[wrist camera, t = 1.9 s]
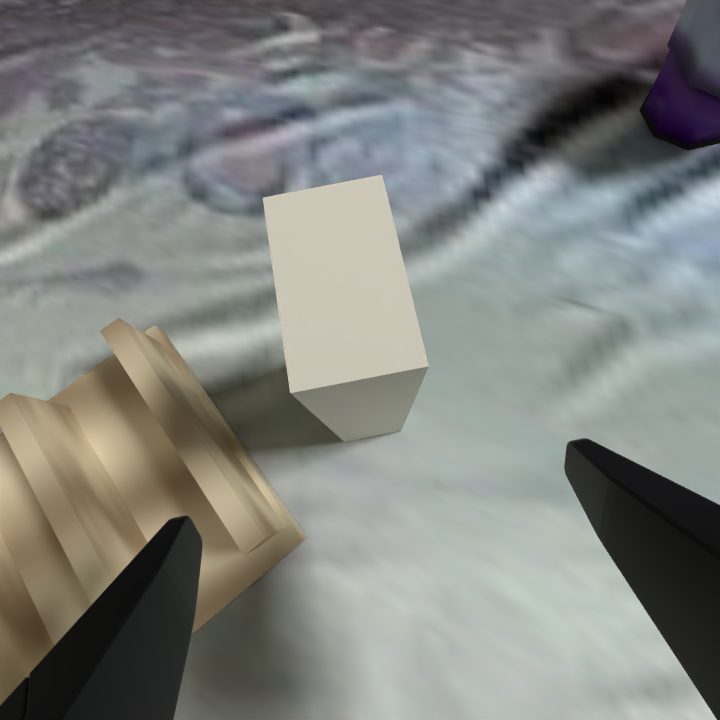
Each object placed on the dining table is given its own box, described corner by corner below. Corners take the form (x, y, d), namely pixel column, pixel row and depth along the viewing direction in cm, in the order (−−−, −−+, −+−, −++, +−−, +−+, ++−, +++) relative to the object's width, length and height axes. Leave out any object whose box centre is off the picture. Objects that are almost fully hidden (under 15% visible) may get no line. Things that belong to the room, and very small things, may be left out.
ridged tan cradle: (306, 538, 20) (285, 555, 16) (-34, 823, 17) (-170, 937, 13) (163, 331, 23) (114, 298, 19) (-137, 545, 21) (-273, 563, 17)
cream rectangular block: (401, 431, 21) (429, 366, 9) (344, 442, 21) (289, 392, 9) (381, 342, 22) (382, 175, 10) (329, 352, 22) (262, 197, 10)
